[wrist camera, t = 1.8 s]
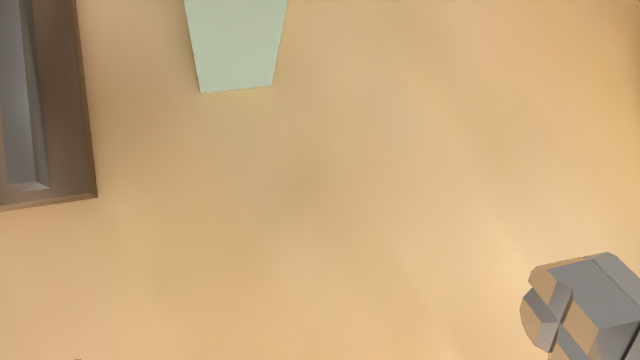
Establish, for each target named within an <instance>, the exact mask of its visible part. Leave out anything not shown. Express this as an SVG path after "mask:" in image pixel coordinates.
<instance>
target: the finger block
mask: <svg viewBox="0 0 640 360" xmlns="http://www.w3.org/2000/svg"><path fill="white" fill-rule="evenodd" d="M287 3H288V0H184V5H185V11H186V16H187V21H188V27H189V32H190V38H191V43H192V49H193V54H194V60H195V65H196V70H197V76H198V81H199V87H200V92H201V94H203V93H212V92H220V91H229V90H238V89H247V88H255V87H264V86H272V81H273V76H274V71H275V65H276V60H277V55H278V50H279V45H280V39H281V34H282V29H283V24H284V19H285V13H286V8H287Z"/></svg>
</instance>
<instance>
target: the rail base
mask: <svg viewBox="0 0 640 360" xmlns="http://www.w3.org/2000/svg"><path fill="white" fill-rule="evenodd" d="M97 197H98V195H97V186H96V177H95V168H94V159H93V151H92V142H91V133H90V124H89V115H88V106H87V97H86V89H85V80H84V71H83V62H82V53H81V44H80V35H79V27H78V18H77V9H76V0H0V211H7V210H14V209H21V208H28V207H35V206H42V205H49V204H56V203H63V202H70V201H77V200H83V199H90V198H97Z"/></svg>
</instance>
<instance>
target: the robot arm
mask: <svg viewBox="0 0 640 360" xmlns="http://www.w3.org/2000/svg"><path fill="white" fill-rule="evenodd" d="M528 282H529V283H530V285H531V286H532V289H531V290H530V291H529V292H528V293H527V294H526V295H525V296H524V297H523V299H522V303H521V307H520V315H521V321H522V325H523V327H524V329H525V332H526V334H527V335H528V337H529V338H530V340H531V341H532V343H533V344H534V345H535V346H537V347H538V348H540V349H542V350H544V351H546V352H547V353H548V360H640V278H639V277H638V276H637V275H636V274H635V273H633V272H632V271H631V270H630V269H629V268H628V267H627V266H626V265H625V264H624V263H623V262H622V261H621V260H620V259H619V258H618V257H617V256H615V255H613V254H611V253H609V252H605V253H600V254H595V255H590V256H585V257H578V258H573V259H568V260H564V261H559V262H554V263H550V264H545V265H540V266H537V267H535V268H534V269H533V270H532V271H531V273H530V276H529V279H528ZM76 360H81V359H76Z"/></svg>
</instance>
